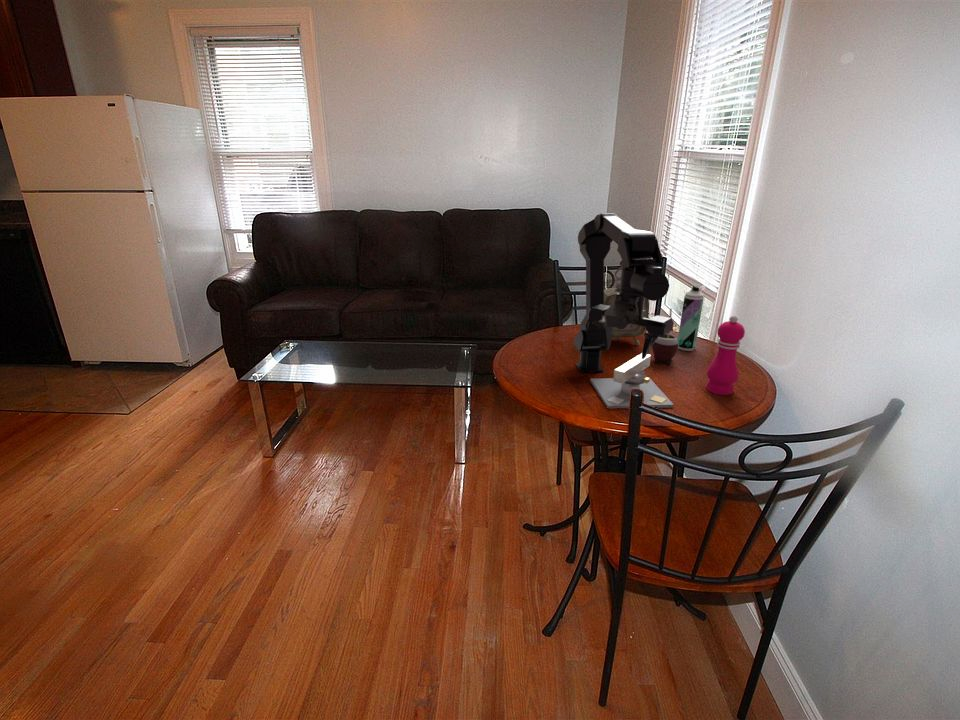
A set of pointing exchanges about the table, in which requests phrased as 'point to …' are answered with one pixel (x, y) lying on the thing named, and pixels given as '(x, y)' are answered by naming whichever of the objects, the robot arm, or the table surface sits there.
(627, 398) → the base
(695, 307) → the spray can
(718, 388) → the pepper mill
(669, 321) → the robot arm
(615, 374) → the handle
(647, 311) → the tabletop clock
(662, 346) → the mate gourd
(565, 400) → the table surface
